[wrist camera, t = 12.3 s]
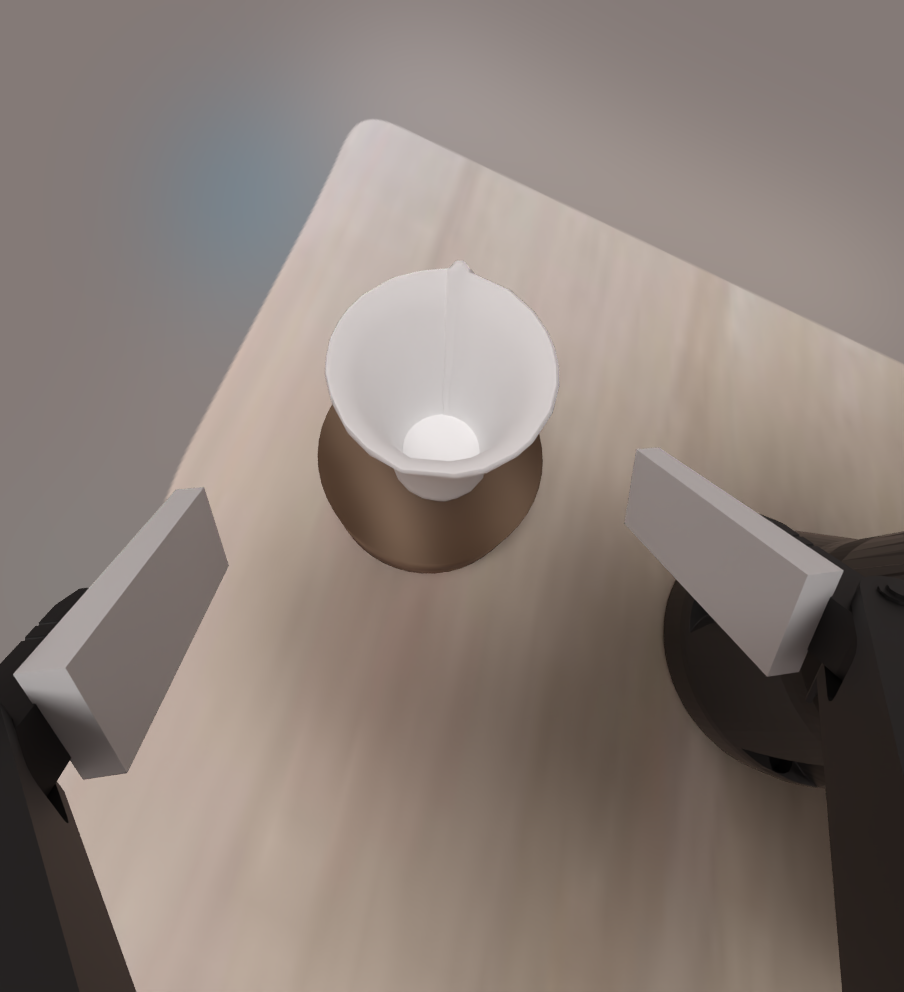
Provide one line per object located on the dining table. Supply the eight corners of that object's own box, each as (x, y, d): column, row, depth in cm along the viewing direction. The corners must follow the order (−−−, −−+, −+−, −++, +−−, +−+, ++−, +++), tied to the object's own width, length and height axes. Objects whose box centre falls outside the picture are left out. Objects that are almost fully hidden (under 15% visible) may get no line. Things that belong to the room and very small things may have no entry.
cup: (520, 398, 28) (577, 280, 18) (495, 546, 25) (546, 499, 16) (377, 366, 28) (359, 231, 18) (337, 513, 25) (291, 445, 16)
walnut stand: (484, 372, 34) (497, 331, 29) (550, 537, 31) (576, 522, 26) (310, 418, 32) (292, 382, 27) (363, 601, 29) (354, 596, 24)
